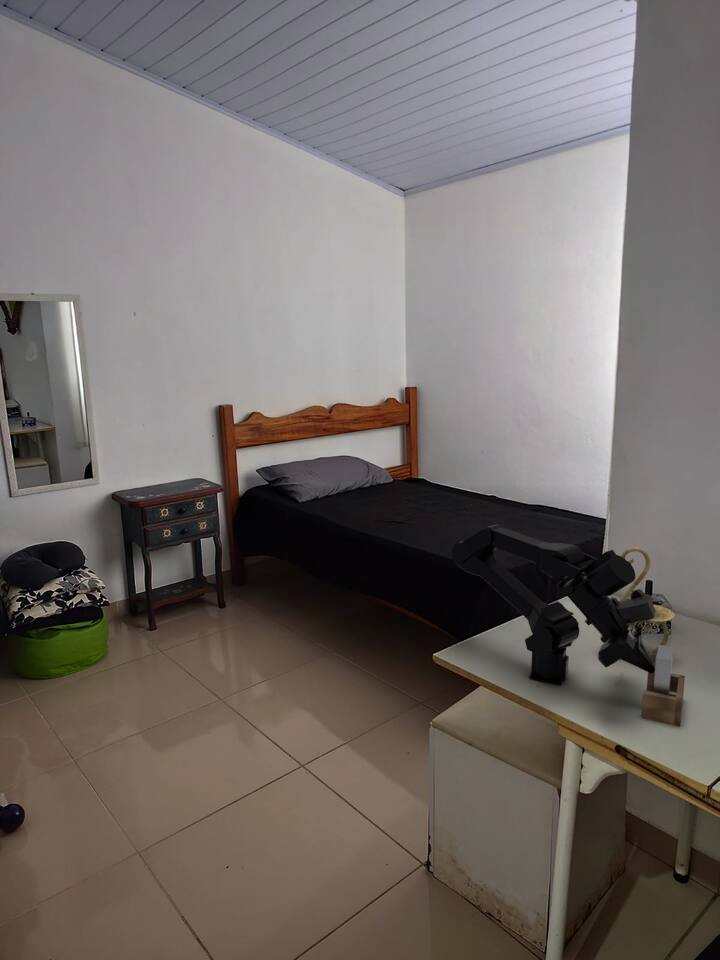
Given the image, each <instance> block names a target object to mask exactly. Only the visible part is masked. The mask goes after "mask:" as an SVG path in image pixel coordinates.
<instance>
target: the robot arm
mask: <svg viewBox="0 0 720 960" xmlns="http://www.w3.org/2000/svg"><path fill="white" fill-rule="evenodd" d="M496 549H499V550H501V551H504V552H506V553H509V554H511V555H514V556H517V557H518V558H519V557H520V558H522V559H525V560H527V561H529V562H532V563H533V564H535V565H536V566H537V568H538V569H539V570H540V571H541V572H542V573H544V574H545V575H548V576H549V577H550V578H552V579H555V580H559V581H560V580H561V581H560V582H559V583H558V584H557V586H556V589H557V592H556V599H557V600H561V599H563V598H564V597H567V598H568V599H569V600H570V601H571V602H572V604H574V606H575V607H576V608H577V609H578V610H579V612H580V613H581V614H582V615H583V616H584V617H585V620H584V623H585V624H586V625H587V626H591V625H592V626H593V627H594V628H595V630H596V631H597V632H598V633H599V634H600V638H599V640H600V641H601V642H602V643H603V644H601V647H600V648H599V651H598V654H597V656H598V658H597V659H598V661H599V662H600V664H602V665H603V666H604V668H608V667H610V666H611V665H612V666H613V664H615V663H616V662H618V661H620V660H621V661H623V662H626V663H629V664H630V665H633V666H635V667H638V668H639V669H641V670H643V671H645V672H647V673H648V672H649V673H651V674H652V673H654V672H655V665H656V664H654V662H653V660H652V658H651V656H649V654H648V652H649V651H648V650H647V648H646V646H645V644H644V642H643V640H642V638H643V637H642V634H643V630H644V626H640V627H639V628H637V629H635V627H634V628H632V629H631V627H630V626H631V624H632V623H633V622H638V621H642V620H646V621H647V620H651V619H653V618H654V617H655V615H654V614H655V612H656V610H655V608H654V605H655V604H653V598H652V597H651V596H650V595H649V593H645V592H644V591H643V590H642V589H640V588H638V589H634V590H633V591H632V592H631V593H630V599H629V598H627V599H626V600H625V601H623V602H619V601H620V600H618V599H617V597H613V596H612V595H614V594H615V593H617V592H618V591H620V590H622V589H624V588H625V587H627V586H629V585H631V584H633V582H634V581H635V580H636V571H635V569H634V566H633V565H632V564H630V562H627V561H628V560H627V559H626V558H625V559H624V558H623V557H621V555H618V554H616V552H615V551H614V550H613V549H610V550H607V551H605V552H603V553H602V554H601V555H600V556H599V557H598V558H596V557H594V556H592V555H589V554H588V553H585V552H583V549H582V548H580V547H579V546H578V545H574V544H569V543H562V542H546V541H543V540H540V539H538V538H537V539H536V538H533V537H531V536H529V535H526V534H522V533H520V532H517V531H515V530H512V529H509V528H506V527H504V526H503V525H502V524H493V525H488V526H485V527H483V528H481V529H480V530H479V531H478V532H477V533H475V534H472V536H470V537H467V538H466V539H464V540H461V541H457V542H456V543H455V544H454V545H453V546H452V551H451V556H452V557H451V558H452V561H453V562H454V564H455V565H456V566H457V567H459V568H460V569H461V570H463V571H465V572H466V573H469V574H472V575H475V576H478V577H481V578H482V579H483V580H484V581H485V582H486V583H487V584H488V585H489V586H490V587H492V588H493V589H494V590H495V591H496V592H497V593H498V594H499V595H501V597H502V598H504V599H505V600H506V601H507V603H509V604H510V605H511V606H512V607H514V608H515V610H517V611H518V612H519V613H520V614H521V615H522V616H524V618H525V619H526V620H527V622H528V625H529V629H530V632H531V633H532V634H531V635H530V636H528V637H526V638H525V640H524V643H525V647H526V650H527V651H529V652H531V666H530V668H531V671H530V673H529V674H528V679H529V680H533V681H535V682H536V681H537V682H541V683H546V684H551V685H554V686H559V687H560V686H562V684H563V682H564V681H565V680H566V679H567V677H568V676H569V664H570V663H569V659H570V657H569V655H567V648H568V647H571V646H572V644H573V643H574V641H576V640H577V639H578V638H579V635H580V626H579V624H580V623H579V622H578V620H577V618H575V616H573V615H574V612H572V611H570V610H568V609H567V608H566V607H565V605H564V604H562V603H561V602H559V601H555V602H552V603H546V602H544V601H543V600H542V599H541V598H539V597H538V596H537V595H536V594H535V593H534V592H533V591H531V590H530V589H529V588H528V587H527V586H526V585H525V584H524V583H522V582H521V581H520V580H519V579H518V578H517V577H516V576H515V575H513V574H512V573H511V572H510V571H508V569H507V568H505V567H504V566H503V565H502V564H501V563H500V562H499V561H498V560H497V557H496V554H495V550H496ZM582 574H584V576H582ZM567 578H572V579H571V580H569V581H564V580H563V579H567ZM610 596H611V597H610ZM646 621H645V622H646ZM642 622H643V621H642ZM608 640H609V641H608ZM605 642H606V643H605Z"/></svg>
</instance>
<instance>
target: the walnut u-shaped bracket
mask: <svg viewBox="0 0 720 960" xmlns="http://www.w3.org/2000/svg"><path fill="white" fill-rule="evenodd" d="M654 678H655V672H654V673H652V674H651V673H649V672H647V681H646V690H645V689H644V690H643V691H642V703H641V705H642V706H641V716H640V717H641V719H645V720H649V721H653V722H657V723H661V724H666V725H669V726H670V725H671V726H675V727H679V728H680V727H681V722H682V721H681V720H682V713H683V712H682V710H683V702H684V692H685V679H686V676H685V675H682V674H677V673H673V672H672V673H671V685H670V691H671V692H676V693H677V695H676V697H673V696H669V695H664V694H659V693H655V692H653V691H654Z"/></svg>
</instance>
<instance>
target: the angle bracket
mask: <svg viewBox="0 0 720 960" xmlns="http://www.w3.org/2000/svg"><path fill="white" fill-rule="evenodd" d="M657 647H658V651H657V654H656V656H655V664H654V665H655V678H654V691H653V692H655V693H659V694H664V695H669V696H673V697H676V695H677V693H676V692H671V691H670V685H671V673H673V672H672V669H673V656H674V647H673V646H667V645H665V646H663V645H660V644H658V646H657Z"/></svg>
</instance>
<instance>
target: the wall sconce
mask: <svg viewBox="0 0 720 960" xmlns="http://www.w3.org/2000/svg"><path fill="white" fill-rule="evenodd" d="M631 552H637V553H640V554H642V556H643V557H644V560H645V566H644V568H643V570H642V572H641V573H640V574H639V576H637V578H635V580H634V581H633V582H632V583H631V584H630V586H629V587H628V589H627V590H626V591H625V592H624V594H623V595H622V596H621V598H620V599H619V600H618V601H619V602H623V601H626V600H627V599H628V597H629V596H631V593H632V591H633V590H636V587H638V585H639V584H640V583H641V582H642V581H643V579H644V578H645V577H646V576H647V574H648V573H649V570H650V569H651V558H650V555H649V553H648V551H646V550H645V549H643V548H641V547H638V546H632V547H628V548H626V549H624V550H623V552H622V553H621V555H620V556H621V557H623V558H624V559H625V560H626V556H627V555H628V554H629V553H631ZM627 562H630V564H631V565H632V564H633V563H634V562H635V560H634V559H633V558H632V559H630V560H627ZM653 605H654V608H655V610H656V612H655V614H654V615H655V617H654V618H653V619H651V620H647V621H646V620H642V621H638V622H633V623H632V624H631V626H630V627H631V629H632V628H634V629H635V626H636V625H637V624H639V623H641V622H646V623H647V624H646V625H643V629H644V632H649V633H651V632H652V628H653V627H654V625H650V624H651V623H652V622H653V623H659V624H660V626H661V627H662V630H663V631H662V632H663V635H662V636H663V637H662V641H661V643H660V644H659V645H663V646H667V643H668V640H669V629H668V626H667V623H666V622H669V621H671V620H673V619H674V618H675V613H674V612H673V611H672V610H670V609H669V608H667V607H665V606H660V605H658V604H653ZM645 636H646V635H645V634H643V633H642V638H643V637H645ZM608 641H609V640H608ZM605 643H606V642H605ZM657 651H658V646H657V647H656V648H655V649H652V650H650V651H647V652H648V654H649V656H650V657H653V656H655V655H657Z"/></svg>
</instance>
